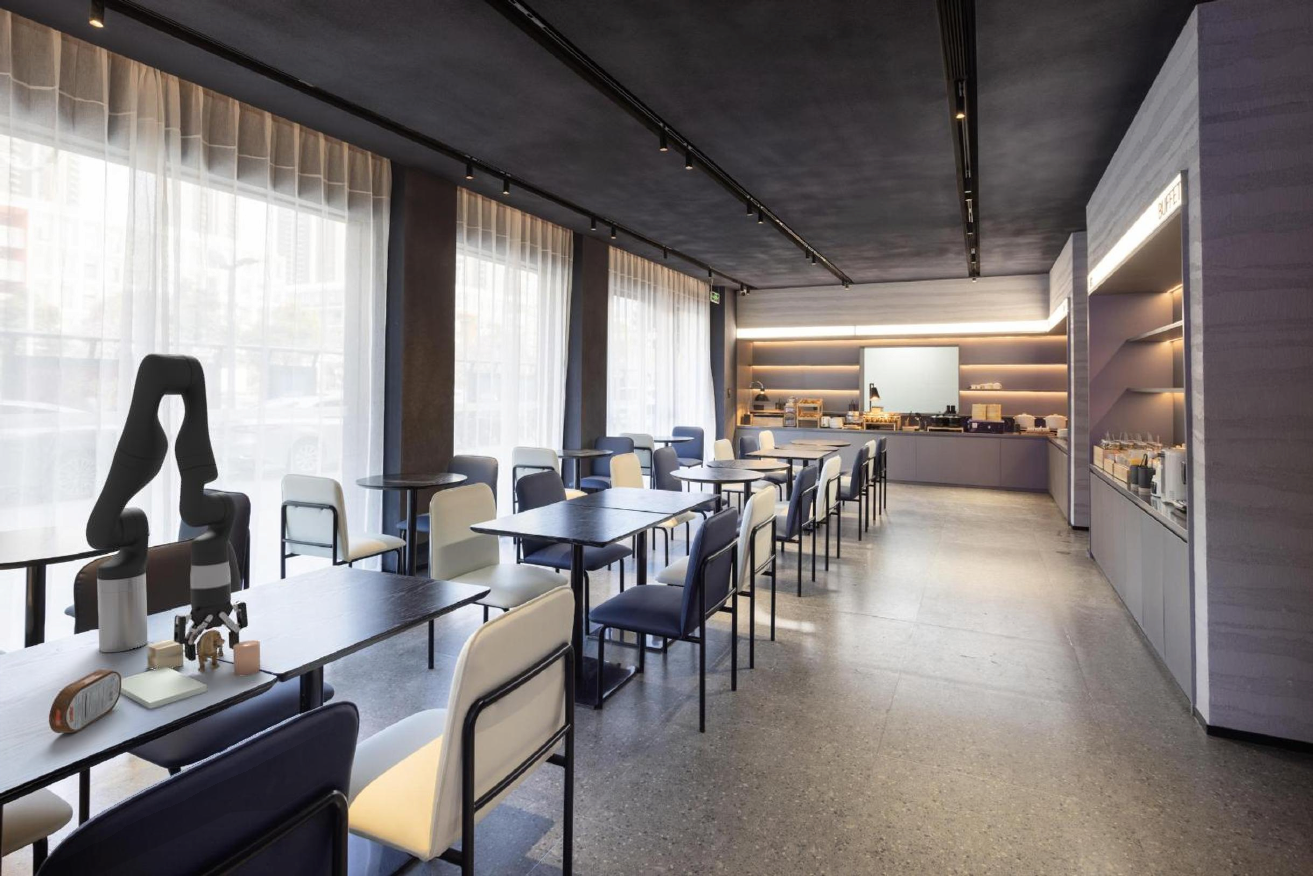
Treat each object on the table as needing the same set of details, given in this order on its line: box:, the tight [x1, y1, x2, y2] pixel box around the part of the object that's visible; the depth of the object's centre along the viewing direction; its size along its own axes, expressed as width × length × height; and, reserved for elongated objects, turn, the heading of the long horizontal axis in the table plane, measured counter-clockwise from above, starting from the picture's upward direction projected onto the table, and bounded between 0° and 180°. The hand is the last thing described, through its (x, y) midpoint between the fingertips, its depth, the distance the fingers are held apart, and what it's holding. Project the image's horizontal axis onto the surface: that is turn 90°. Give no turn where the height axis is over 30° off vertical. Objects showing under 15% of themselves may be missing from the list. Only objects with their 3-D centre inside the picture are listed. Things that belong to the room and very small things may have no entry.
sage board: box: [120, 667, 208, 710], centre depth 141 cm, size 18×10×1 cm, turn 57°
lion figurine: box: [196, 629, 226, 672], centre depth 155 cm, size 15×5×9 cm, turn 34°
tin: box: [48, 668, 122, 734], centre depth 127 cm, size 15×3×8 cm, turn 5°
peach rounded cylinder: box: [232, 640, 261, 676], centre depth 151 cm, size 5×5×6 cm
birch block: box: [146, 638, 184, 670], centre depth 154 cm, size 5×5×5 cm
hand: (212, 654), depth 154 cm, fingers open, 8 cm apart
